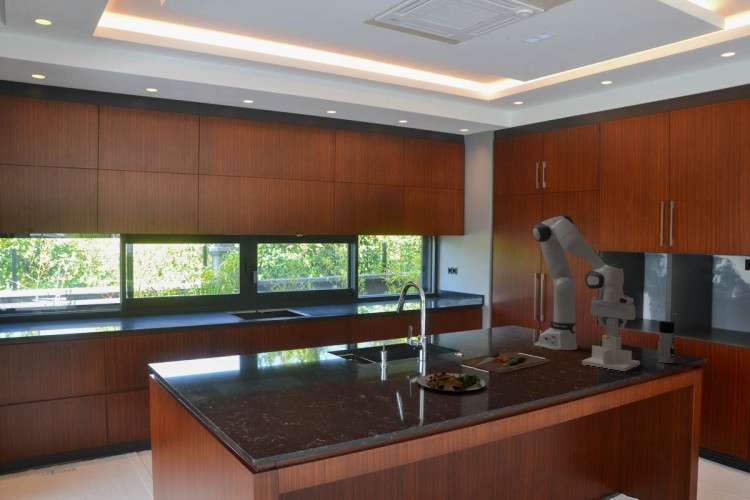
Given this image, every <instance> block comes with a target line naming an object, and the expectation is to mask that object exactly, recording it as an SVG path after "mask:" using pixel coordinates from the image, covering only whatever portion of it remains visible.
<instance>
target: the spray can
mask: <svg viewBox="0 0 750 500" xmlns="http://www.w3.org/2000/svg"><path fill="white" fill-rule="evenodd" d="M674 360H675V322H674V321H667V320H660V321H659V329H658V362H659V363H660V362H664V363H673V362H675V361H674ZM664 363H663V364H664ZM673 364H674V363H673Z"/></svg>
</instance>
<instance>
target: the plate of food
mask: <svg viewBox="0 0 750 500" xmlns="http://www.w3.org/2000/svg"><path fill="white" fill-rule="evenodd" d="M477 375H478V372H477V373H472V374H469V373H454V372H453V373H452V372H451V373H448V372H445V371H442V370H441V371H440V373H432V374H431V373H430V374H425V375H422V376H420V377H418V378H417V379H416V382H417V383H418V384H419V385H421V386H423V387H427V388H430V389H433V390H439V391H445V392H446V391H447V392H454V393H455V392H457V393H459V392H467V391H471V390H479V389H481V388H483V387H485V386H486V385H487V382H486V380H484V379H482V377H481V378H480V377H478V376H477ZM428 384H429V386H428Z"/></svg>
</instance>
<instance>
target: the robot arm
mask: <svg viewBox="0 0 750 500" xmlns="http://www.w3.org/2000/svg"><path fill="white" fill-rule="evenodd" d="M532 235H533V238H534V239H535V241H537V242H539V243H540V248H541V253H542V255H543V258H544V261H545V264H546V268H547V270H548V273H549V275H550V277H551V280H552V283H553V286H554V287H553V320H552V321H549V325H550V327H549V328H548V329H546V330H544V331H542V333H540V335H539V336H538V341H536V342H534V346H536V347H540V348H545V349H550V350H554V351H573V350H577V349H578V346H577V340H576V330H577V327H576V324H577V323H576V299H577V297H576V296H577V294H576V292H577V291H576V290H577V283H576V280H575V277H574V275H573V272H572V269H571V267H570V264H569V262H568V258H567V255H566V253H567V254H568V255H571V256H576V257H578V258H581V259H583V260H585V261H586V262H588V263H589V265H590V266H591V267H592V268H593V269H592V270H589V271H588V272H587V273H586V275H585V276H584V282H585V285H586V287H587V288H589V289H590V290H602V296H594V297H592V298H591V299H590V304H591V307H590V315H591V316H593V317H597V320H598V321H599V326H600V327H604V326H605V321H603V318H613V319H618V320H619V319H621V320H622V323H621V324H620V325H619V328H620V329H623V330H624V329H625V325H626V324H627V322H628V321H631V320H633V321H634V320H635V319H636V315H637V314H636V306H635V305H634V300H635V299H634V298H632V297H630V296H628V295H625V294H624V290H623V287H624V281H625V278H624V269H623V267H622V266H621V265H619V264H616V263H606V261H605V260H604V258H602V256H601V255H600V254H599V253H598V252H597V250H596V249H595V248H594V247H592V245H591V244H590V243H589V242H588V241H587V240H586V239H585V238H584V237H583V235H582V234H581V232H580V231H579V230H578V229H577V227H576V226H575V224H574V221H573V219H572V218H571V217H570V216H569V215H567V214H564V215H559V216H556V217H555V216H554V217H551V218H549V219H547V220H543V221H542V222H537V223H536V224H535V225H534V226H533V227H532Z"/></svg>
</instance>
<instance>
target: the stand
mask: <svg viewBox="0 0 750 500" xmlns="http://www.w3.org/2000/svg"><path fill="white" fill-rule="evenodd" d="M601 340H602V341H601V343H602V345H601V346H599V345H591V356H590V357H588V358H585V359H582V360H581V365H582V364H583V365H582V366H586V365H590V366H589V367H592V366H596V367H595V368H597V367H603V368H608V369H607V370H609V369H614V370H620V371H627V370H629V369H631V368H633V367H635V368H637V367H639V366H638V365H640V366H641V361H640V360H636V359H632V358H633V357H632V355H633V351H632V350H626V349H622V335H618V336H617V337H610V336H606V334H604V335H602V339H601ZM636 366H637V367H636ZM603 368H602V369H603ZM633 369H634V368H633ZM614 370H613V371H614ZM631 370H632V369H631ZM620 371H619V372H620ZM629 371H630V370H629ZM627 372H628V371H627Z"/></svg>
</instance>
